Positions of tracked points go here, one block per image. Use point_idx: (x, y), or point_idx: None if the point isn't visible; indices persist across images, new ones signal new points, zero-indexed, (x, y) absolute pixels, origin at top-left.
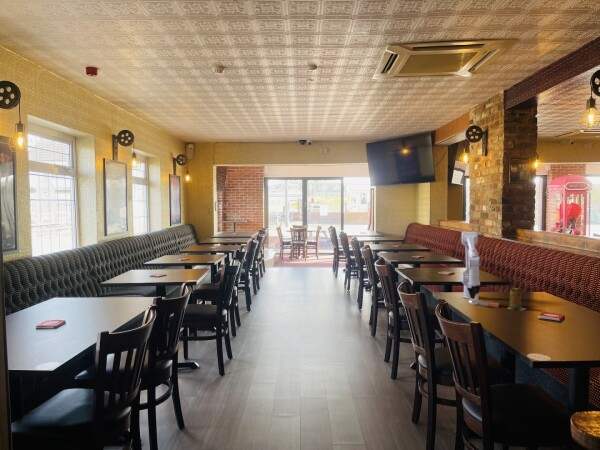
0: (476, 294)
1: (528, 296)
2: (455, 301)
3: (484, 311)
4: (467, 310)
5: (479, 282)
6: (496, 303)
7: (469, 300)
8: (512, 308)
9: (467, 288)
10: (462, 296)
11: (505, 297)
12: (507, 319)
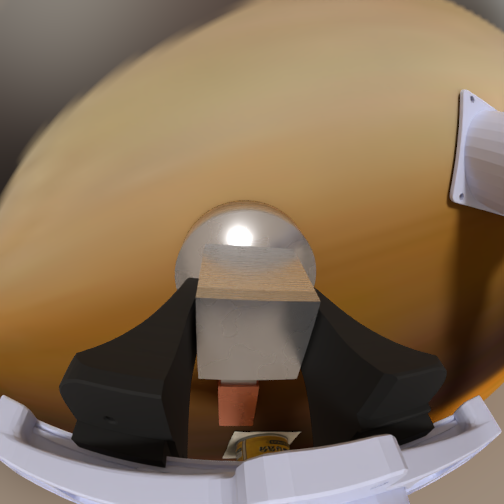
0: (219, 376)
1: (499, 368)
2: (252, 46)
3: (64, 368)
4: (3, 287)
5: (437, 478)
6: (242, 419)
7: (222, 235)
8: (236, 444)
9: (73, 363)
10: (478, 98)
11: (496, 330)
12: (50, 422)
